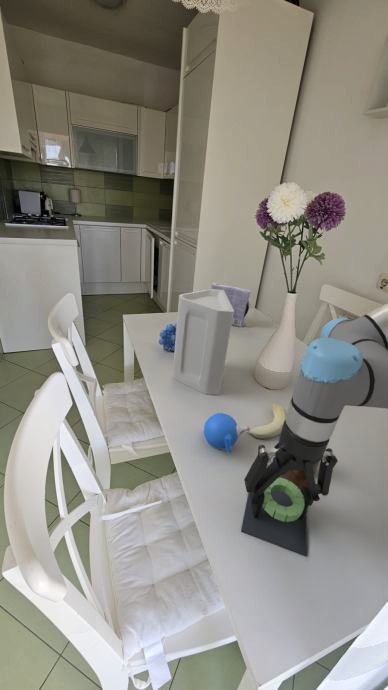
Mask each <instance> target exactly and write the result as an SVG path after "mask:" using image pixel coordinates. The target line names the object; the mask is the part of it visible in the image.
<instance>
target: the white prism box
mask: <svg viewBox="0 0 388 690" xmlns="http://www.w3.org/2000/svg"><path fill="white" fill-rule="evenodd" d="M233 314H234V310H233V308H232V306H231V304H230V302H229V300H228V298H227V296H226V293H225V291H224V290H216V289H211V288H209V289H203V290H197V291H192V292H186V293H181V294H179V295H178V305H177V318H176V323H177V328H176V340H175V351H173V352H174V353H173V364H172V379H173V380H175V381H177V382H179V383H181V384H183V385H186V386H188V387H189V388H192V389H193V390H196V391H198V392H200V393H201V394H204V395H208V396H219V395H220V394H221V387H222V383H223V382H222V381H223V376H224V371H225V366H226V365H225V364H226V359H227V353H228V348H229V342H230V336H231V330H232V326H233V325H232V320H233Z"/></svg>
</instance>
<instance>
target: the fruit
mask: <svg viewBox="0 0 388 690" xmlns="http://www.w3.org/2000/svg"><path fill="white" fill-rule="evenodd" d="M286 414H287V412H286V410H285V408H284V407H283V406H282V405H281V404H278V403H275V402H274V403H273V404H272V415H273V419H272V421H271V422H270V423H268V424H265V425H260V426H255V427H253V428H250V430H249V431H246V432H247V433H248V434H250V435H251V436H253V437H254V438H256V439H262V440H264V439H271V438H275V437H276V436H278V435H280V433H281V430H282V427H283V424H284V421H285V419H286Z"/></svg>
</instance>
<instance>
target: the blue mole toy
mask: <svg viewBox="0 0 388 690" xmlns="http://www.w3.org/2000/svg"><path fill="white" fill-rule="evenodd" d="M250 429H251V427H250V426H241V425H238V423H237V422H236V418H234V417H233V416H231V414H228V413H225V412H217V413H213V414H212V415H210V416H209V417H208V418H207V420H206V421H205V423H204V426H203V434H204V438H205V441H206V442H207V444H209V446H210V447H212V448H213V449H216V450H226V453H227V454H231V452H232V446H233V445H235V444H236V442H237V440H238V438H239V437H240V436H242V435H243V434H244V433H245V432H247V431H249V430H250Z"/></svg>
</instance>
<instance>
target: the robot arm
mask: <svg viewBox="0 0 388 690" xmlns="http://www.w3.org/2000/svg"><path fill="white" fill-rule="evenodd" d="M293 389H294V390H293V392H292V396H291V399H290V402H289V405H288V408H287V411H286V419H285V421H284V424H283V427H282V430H281V433H280V434H279V437H278V442H277V443H276V444H275V445H274V447H267V448H266V446H265V445H264V444H260V445H258V447H257V455H256V457H255V459H254V461H253V463H252V464H251V466H250V468H249V470H248V471H247V473H246V475H245V477H244V479H243V480H244V481H243V482H244V486H245V491H246V493H247V494H248V493H251V494H250V497H251V502H252V510H253V515H254V518H258V516H259V513H260V510H261V507H262V504H263V501H264V498H265V495H264V491H265V490H266V489H267V488H268V487H269V486H270V485H271V484H272V483H273V482H274V481H275V480H276V479H277V478H278V477H279V476H280V475H285V474H286V473H287V472H288V471H289V470H298V471H304V474H305V478H306V482H307V486H308V489H307V486H302V489H301V493H302V494H303V496H304V509H303V512H302V514H301V515H300V516H299V518H298V519H299V520H302V519H303V517H304V515H305V512H306V513H307V510H308V508H309V507H311V506H312V505H313V503H314V502H319V501H320V499H321V498H320V496H319V495H321V496H323V497H326V496H328V495H329V494H330V493H329V492H330V487H331V481H332V475H333V471H334V468H335V467H336V465H337V464H338V457H337V456H336V455H335V453H334V451H333V449H332V448H330V447H328V446H329V445H328V444H329V443H330V441H331V437H332V436H333V434H334V432H335V429H336V426H337V424H338V421H339V419H340V416H341V414H342V412H343V410H344V409H345V407H347V406H349V407H365V408H376V409H377V408H378V409H387V410H388V302H387V303H384V304H382V305H381V306H379V307H377V308H375V309H373V310H372V311H369V312H367V313H365V314H364V315H362V316H359V317H357V318H355V319H353V320H352V319H350V318H348V317H336V318H333V319H331V320H330V321H327V323H326V324H325V325H324V326H323V327H322V330H321V332H320V337H319V338H316V339H314V340H313V341H311V342H310V344H309V345H308V347H307V350H306V352H305V354H304V356H303V359H302V361H301V362H300V366H299V372H298V376H297V379H296V383H295V387H294V388H293ZM327 447H328V448H327ZM318 461H320V462H319V466H318V474H317V481H316V479H315V474H314V472H313V466H312V465H314V464H315V463H317V462H318Z"/></svg>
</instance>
